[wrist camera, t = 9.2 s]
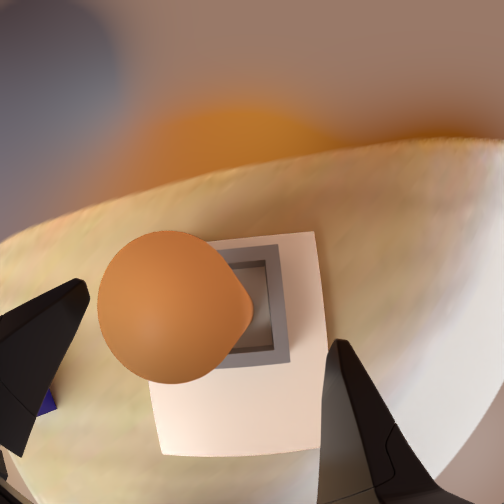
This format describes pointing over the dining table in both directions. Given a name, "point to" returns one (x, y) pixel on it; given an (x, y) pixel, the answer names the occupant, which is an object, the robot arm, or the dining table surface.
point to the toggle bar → (171, 307)
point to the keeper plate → (257, 361)
